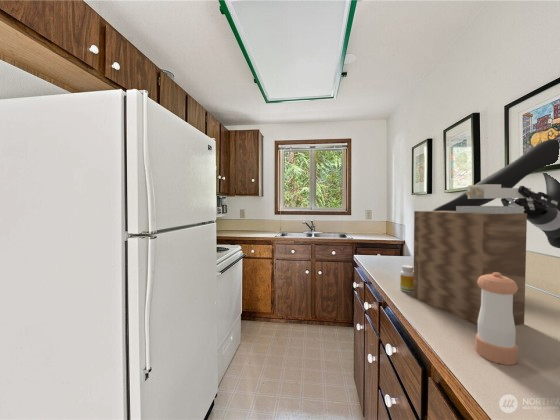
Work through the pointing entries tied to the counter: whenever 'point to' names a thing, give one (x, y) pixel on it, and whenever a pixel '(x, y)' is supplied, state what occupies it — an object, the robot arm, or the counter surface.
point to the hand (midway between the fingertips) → (511, 188)
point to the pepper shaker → (496, 319)
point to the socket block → (490, 209)
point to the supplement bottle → (407, 278)
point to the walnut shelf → (467, 259)
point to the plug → (492, 192)
